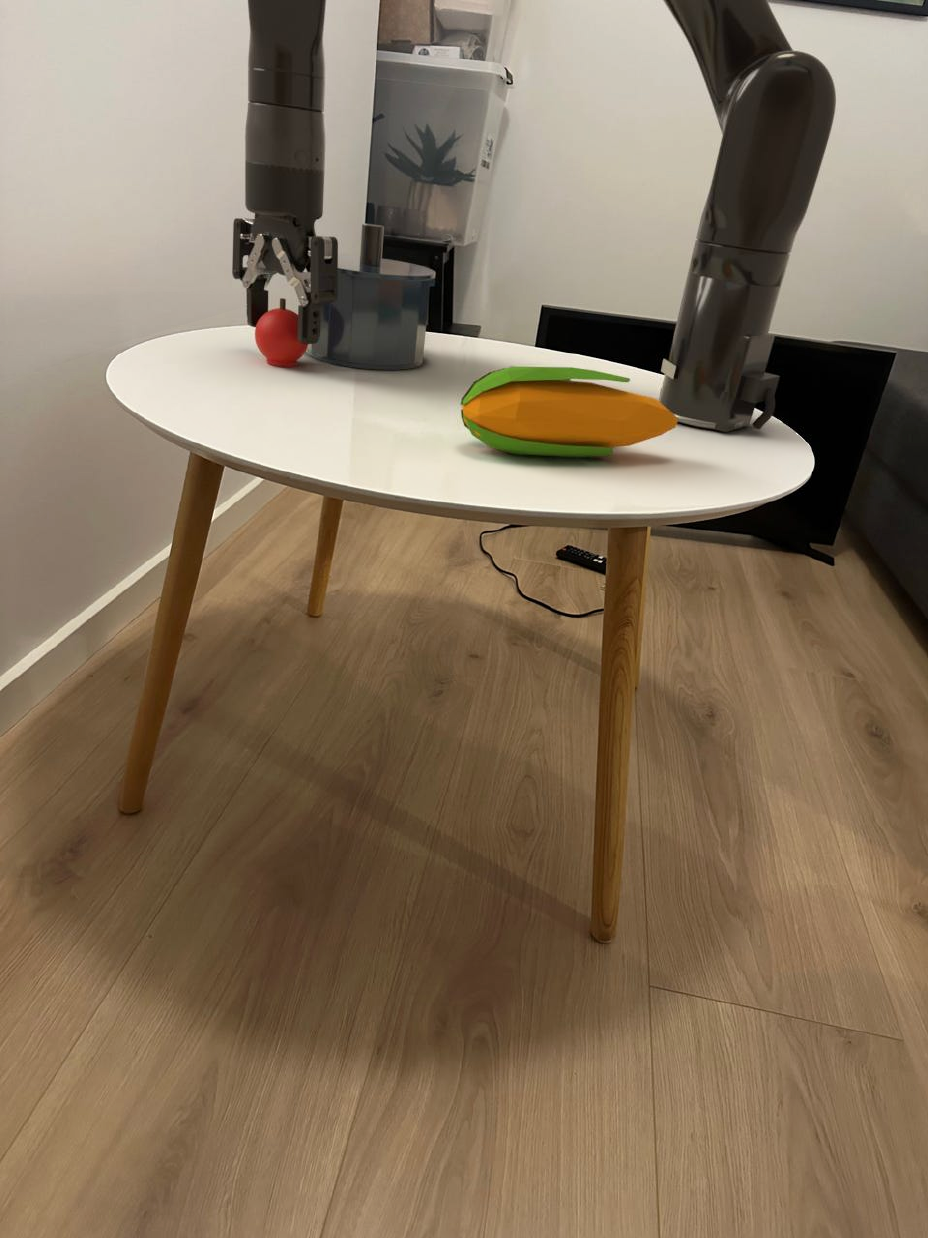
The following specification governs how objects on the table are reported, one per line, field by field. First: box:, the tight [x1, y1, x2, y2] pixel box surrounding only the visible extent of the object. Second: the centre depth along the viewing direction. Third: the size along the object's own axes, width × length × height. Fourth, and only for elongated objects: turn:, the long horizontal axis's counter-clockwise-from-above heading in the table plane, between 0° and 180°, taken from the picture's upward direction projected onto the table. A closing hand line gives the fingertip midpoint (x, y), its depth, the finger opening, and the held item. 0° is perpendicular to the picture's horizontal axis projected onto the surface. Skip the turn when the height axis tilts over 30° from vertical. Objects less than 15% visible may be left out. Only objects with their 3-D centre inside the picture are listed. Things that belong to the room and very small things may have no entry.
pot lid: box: [338, 223, 436, 281], centre depth 95 cm, size 15×15×5 cm
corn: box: [459, 365, 679, 458], centre depth 73 cm, size 7×8×20 cm
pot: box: [305, 273, 436, 371], centre depth 98 cm, size 14×19×10 cm
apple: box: [254, 297, 308, 368], centre depth 90 cm, size 6×6×7 cm
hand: (282, 334), depth 90 cm, fingers open, 8 cm apart
